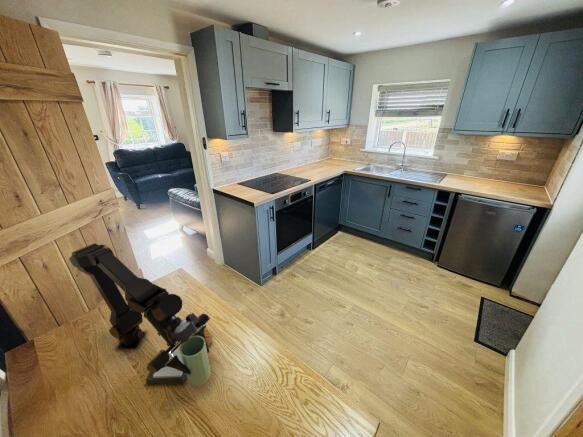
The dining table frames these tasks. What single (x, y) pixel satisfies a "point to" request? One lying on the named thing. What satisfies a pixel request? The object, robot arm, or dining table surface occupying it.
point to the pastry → (206, 336)
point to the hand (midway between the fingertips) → (199, 362)
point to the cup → (195, 360)
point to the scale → (167, 374)
